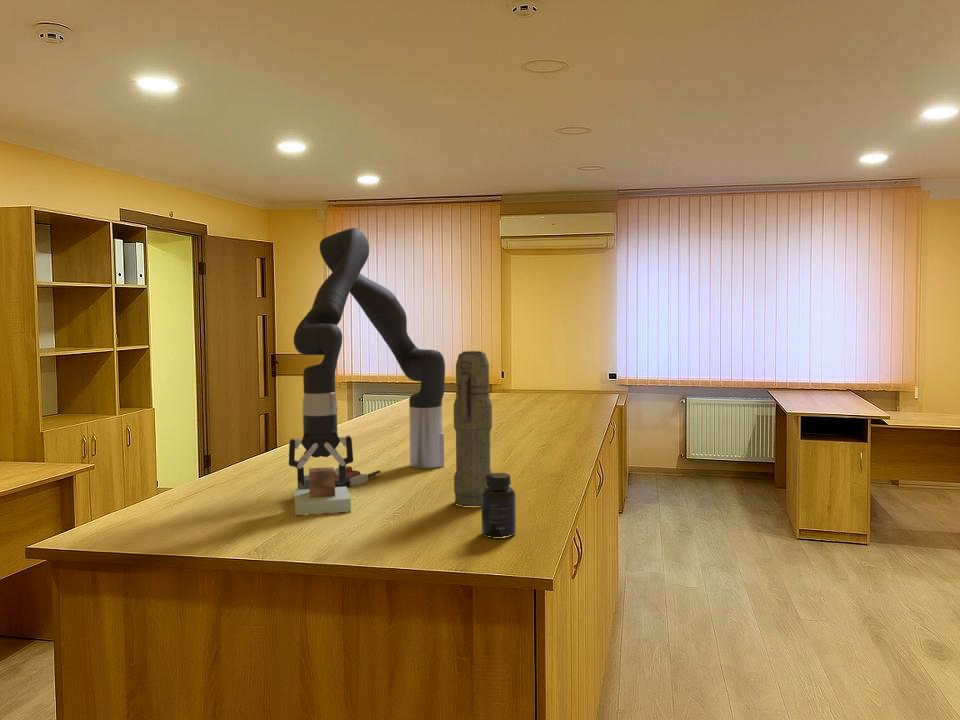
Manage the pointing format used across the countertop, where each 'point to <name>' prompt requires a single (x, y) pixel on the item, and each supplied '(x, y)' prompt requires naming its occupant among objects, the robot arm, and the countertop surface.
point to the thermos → (472, 427)
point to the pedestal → (322, 502)
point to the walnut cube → (321, 482)
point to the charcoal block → (306, 483)
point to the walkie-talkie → (352, 477)
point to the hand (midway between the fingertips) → (321, 482)
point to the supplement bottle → (498, 506)
